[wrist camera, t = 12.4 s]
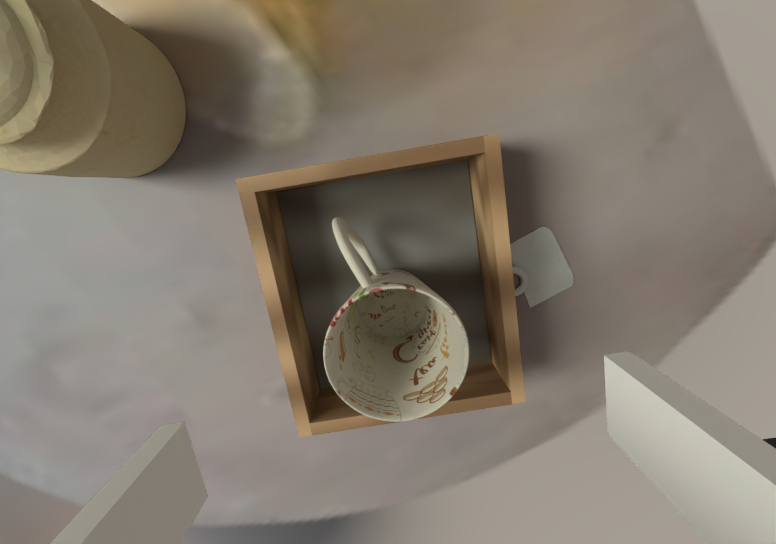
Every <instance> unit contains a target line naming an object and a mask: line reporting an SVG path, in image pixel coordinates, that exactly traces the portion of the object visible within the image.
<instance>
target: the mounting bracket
mask: <svg viewBox="0 0 776 544" xmlns="http://www.w3.org/2000/svg"><path fill="white" fill-rule="evenodd" d="M510 248H511V258H512V262H513V264H514V266H512V268H513V274H516V275H518V277H519V280H520V285H519V286H518V287H517V288H516V289H515V297H516V296H519V295H521V294H522V293H523V292H524V293H525V296H526V298H527V301H528V304H529V306H530V308H532V307H533V306H535V305H537V304H539V303H541V302H543V301H545V300H547V299H549V298H551V297H552V296H554V295H556V294H558V293H560V292H562V291H564V290H566V289H568V288H570V287H571V286H572V284H573V282H574V276H573V273H572V271H571V269H570V267H569V265H568V263H567V261H566V259H565V257H564V255H563V253H562V251H561V249H560V247H559V245H558V242H557V240H556V238H555V236H554V234H553V232H552V231H551V230H550V229H549V228H547V227H540V228H538V229H536V230H534V231H533V232H531V233H529V234H527V235H525V236H524V237H522V238H520V239H518V240H516V241H515V242H513V243H511V244H510Z"/></svg>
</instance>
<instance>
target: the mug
mask: <svg viewBox="0 0 776 544" xmlns="http://www.w3.org/2000/svg"><path fill="white" fill-rule="evenodd" d="M332 228H333V232H334V235H335V238H336V241H337V244H338V246H339V248H340V250H341V252H342V254H343V256H344V258H345V260H346V261H347V263H348V265H349V267H350V268H351V270H352V272H353V273H354V275H355V276H356V278H357V280H358V281H359V283H360V285H361V286H360V287H359V288H358V289H357V290H356V291H355V292H354V293H353V294H352V296H351V297H350V298H349V299H348V300H347V301H346V302H345V303H344V304H343V306H342V307H341V308H340V309H339V310H338V312H337V313H336V315H335V316H334V318H333V320H332V321H331V323H330V325H329V328H328V330H327V333H326V337H325V341H324V348H323V359H324V366H325V370H326V374H327V377H328V379H329V382H330V383H331V385H332V387H333V389H334V390H335V392H336V393H337V394H338V396H339V397H340V398H341V399H342V400H343V401H344V402H345V403H346V404H347V405H349V406H350V407H351V408H353V409H354V410H356V411H357V412H359V413H361V414H363V415H366V416H368V417H371V418H374V419H378V420H383V421H394V422H398V421H408V420H413V419H417V418H420V417H423V416H426V415H428V414H430V413H432V412H434V411H436V410H437V409H439V408H440V407H442V406H443V405H444V404H445V403H446V402H448V401H449V400H450V399H451V398H452V396H453V395H454V394H455V393H456V391H457V390H458V388H459V387H460V385H461V383H462V382H463V379H464V377H465V375H466V371H467V368H468V363H469V343H468V337H467V334H466V331H465V328H464V326H463V324H462V322H461V320H460V318H459V316H458V315H457V313H456V312H455V311H454V309H453V308H452V307H451V306H450V305H449V304H448V303H447V302H446V301H445V300H444V299H443V298H442V297H440V296H439V295H438V294H437V293H435V292H434V291H433V290H432V289H430V288H429V287H428V286H427V285H425V284H424V283H423V282H422V281H421V280H419V279H418V278H417V277H415V276H414V275H412V274H411V273H408V272H406V271H403V270H398V269H387V270H382V271H379V270H378V267H377V265H376V263H375V261H374V259H373V257H372V255H371V254H370V252H369V250H368V248H367V246H366V244H365V242H364V241H363V239H362V238H361V237H360V236H359V235H358V233H357V232H356V231H355V230H354V229H353V228H352V227H351V226H350V225H349V224H348V223H347V222H345V221H344V220H343V219H342V218H340V217H335V218H334V219H333V221H332ZM351 243H352V244H353V246H354V247H355V249H356V250H357V252H358V253H359V254H360V256H361V257H362V259H363V260H364V262H365V263H366V265H367V266H368V268H369V269H370V270H371V272H372V273H373V275H371V276H369V274H368V273H367V271H366V269H365V268H364V266H363V264H362V263H361V261H360V259H359V258H358V256H357V254H356V252H355V250H354V249H353V246H352V244H351Z"/></svg>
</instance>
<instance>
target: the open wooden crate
mask: <svg viewBox="0 0 776 544" xmlns="http://www.w3.org/2000/svg"><path fill="white" fill-rule="evenodd" d="M235 180H236V184H237V188H238V192H239V196H240V200H241V204H242V208H243V212H244V216H245V220H246V224H247V228H248V232H249V236H250V240H251V244H252V248H253V252H254V257H255V261H256V265H257V269H258V273H259V277H260V281H261V285H262V289H263V293H264V297H265V301H266V305H267V309H268V313H269V317H270V321H271V325H272V329H273V333H274V338H275V342H276V346H277V350H278V354H279V358H280V362H281V366H282V370H283V374H284V378H285V382H286V386H287V390H288V394H289V398H290V402H291V406H292V410H293V414H294V419H295V423H296V427H297V431H298V435H299V437H305V436H311V435H318V434H324V433H330V432H337V431H343V430H350V429H356V428H362V427H369V426H375V425H382V424H388V423H395V422H394V421H383V420H378V419H374V418H371V417H368V416H366V415H363V414H361V413H359V412H357V411H356V410H354V409H353V408H351V407H350V406H349V405H347V404H346V403H345V402H344V401H343V400H342V399H341V398H340V397H339V396H338V394H337V393H336V392H335V390H334V389H333V387H332V385H331V383H330V382H329V379H328V377H327V374H326V370H325V366H324V359H323V348H324V341H325V337H326V333H327V330H328V328H329V325H330V323H331V321H332V320H333V318H334V316H335V315H336V313H337V312H338V310H339V309H340V308H341V307H342V306H343V304H344V303H345V302H346V301H347V300H348V299H349V298H350V297H351V296H352V294H353V293H354V292H355V291H356V290H357V289H358V288H359V287H360V286H361V285H360V283H359V281H358V280H357V278H356V276H355V275H354V273H353V272H352V270H351V268H350V267H349V265H348V263H347V261H346V260H345V258H344V256H343V254H342V252H341V250H340V248H339V246H338V244H337V241H336V238H335V235H334V232H333V228H332V221H333V219H334V218H335V217H340V218H342V219H343V220H344V221H345V222H347V223H348V224H349V225H350V226H351V227H352V228H353V229H354V230H355V231H356V232H357V233H358V235H359V236H360V237H361V238H362V239H363V241H364V242H365V244H366V246H367V248H368V250H369V252H370V254H371V255H372V257H373V259H374V261H375V263H376V265H377V267H378V270H379V271H382V270H387V269H398V270H403V271H406V272H408V273H411V274H412V275H414V276H415V277H417V278H418V279H419V280H421V281H422V282H423V283H424V284H425V285H427V286H428V287H429V288H430V289H432V290H433V291H434V292H435V293H437V294H438V295H439V296H440V297H442V298H443V299H444V300H445V301H446V302H447V303H448V304H449V305H450V306H451V307H452V308H453V309H454V311H455V312H456V313H457V315H458V316H459V318H460V320H461V322H462V324H463V326H464V328H465V331H466V334H467V337H468V343H469V363H468V368H467V371H466V375H465V377H464V379H463V382H462V383H461V385H460V387H459V388H458V390H457V391H456V393H455V394H454V395H453V396H452V398H451V399H450V400H449V401H448V402H446V403H445V404H444V405H443V406H442V407H440V408H439V409H437V410H436V411H434V412H432V413H430V414H428V415H426V416H423V417H420V418H427V417H433V416H439V415H446V414H452V413H459V412H465V411H471V410H478V409H484V408H491V407H497V406H503V405H510V404H516V403H523V402H526V401H525V390H524V380H523V370H522V360H521V350H520V339H519V329H518V319H517V309H516V299H515V289H514V278H513V268H512V258H511V248H510V238H509V228H508V217H507V207H506V197H505V187H504V177H503V167H502V156H501V146H500V136H499V133H498V134H492V135H486V136H481V137H475V138H469V139H463V140H458V141H452V142H446V143H440V144H435V145H429V146H423V147H417V148H412V149H406V150H400V151H394V152H388V153H383V154H377V155H371V156H365V157H360V158H354V159H348V160H342V161H337V162H331V163H325V164H319V165H314V166H308V167H302V168H296V169H291V170H285V171H279V172H273V173H267V174H262V175H256V176H250V177H244V178H239V179H235ZM351 244H352V243H351ZM352 246H353V244H352ZM353 249H354V250H355V252H356V254H357V256H358V258H359V259H360V261H361V263H362V264H363V266H364V268H365V269H366V271H367V273H368V274H369V276H371V275H373V273H372V272H371V270H370V269H369V268H368V266H367V265H366V263H365V262H364V260H363V259H362V257H361V256H360V254H359V253H358V252H357V250H356V249H355V247H354V246H353ZM420 418H417V419H420ZM413 420H414V419H413ZM398 422H401V421H398Z"/></svg>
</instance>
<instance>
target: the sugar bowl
mask: <svg viewBox="0 0 776 544" xmlns="http://www.w3.org/2000/svg"><path fill="white" fill-rule="evenodd" d="M185 121H186V104H185V97H184V93H183V89H182V86H181V83H180V81H179V79H178V76H177V74H176V72H175V70H174V69H173V67H172V65H171V64H170V62H169V61H168V59H167V58H166V57H165V55H164V54H163V53H162V52H161V51H160V50H159V49H158V48H157V47H156V46H155V45H154V44H153V43H151V42H150V41H149V40H148V39H146V38H145V37H143V36H142V35H141V34H139V33H138V32H136V31H135V30H133V29H132V28H131V27H129V26H128V25H126V24H125V23H123V22H122V21H121V20H119V19H118V18H116V17H115V16H113V15H112V14H111V13H109V12H108V11H106V10H105V9H103V8H102V7H100V6H99V5H97V4H96V3H94V2H93V1H91V0H0V169H4V170H7V171H11V172H18V173H27V174H41V175H54V176H68V177H108V178H128V177H136V176H141V175H143V174H146V173H149V172H152V171H153V170H155V169H157V168H159V167H160V166H161V165H163V164H164V163H165V162H166V161H167V160H168V159H169V158H170V157H171V156H172V154H173V153H174V152H175V150H176V148H177V146H178V145H179V143H180V141H181V138H182V135H183V132H184V128H185Z"/></svg>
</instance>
